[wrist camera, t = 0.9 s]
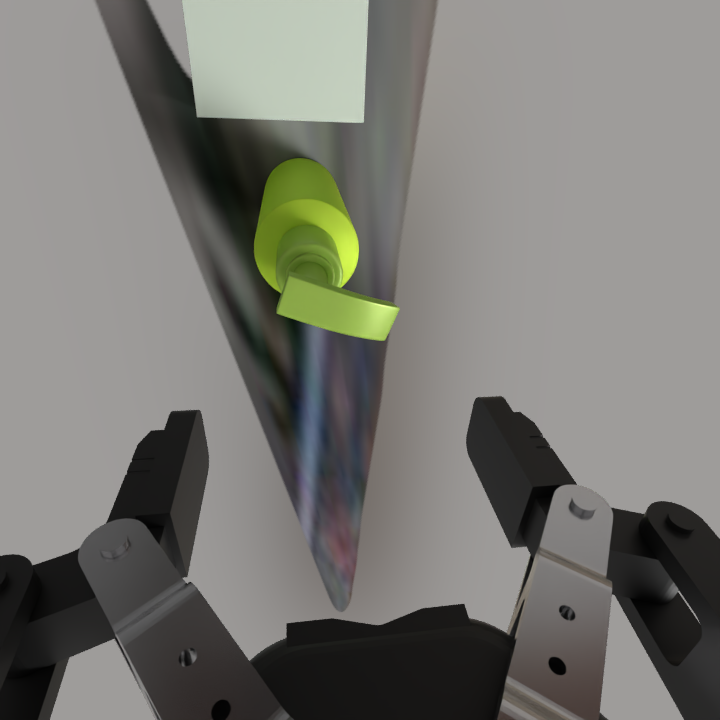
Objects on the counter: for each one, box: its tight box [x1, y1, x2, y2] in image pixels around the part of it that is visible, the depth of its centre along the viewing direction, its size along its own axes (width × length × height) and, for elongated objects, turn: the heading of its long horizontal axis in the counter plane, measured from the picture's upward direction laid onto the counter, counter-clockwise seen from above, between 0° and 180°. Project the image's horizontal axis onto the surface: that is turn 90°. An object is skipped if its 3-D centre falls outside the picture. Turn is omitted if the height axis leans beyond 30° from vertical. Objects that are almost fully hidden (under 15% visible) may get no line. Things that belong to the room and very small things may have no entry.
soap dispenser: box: [254, 158, 400, 341], centre depth 29 cm, size 6×7×20 cm
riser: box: [182, 0, 369, 123], centre depth 29 cm, size 10×11×4 cm
